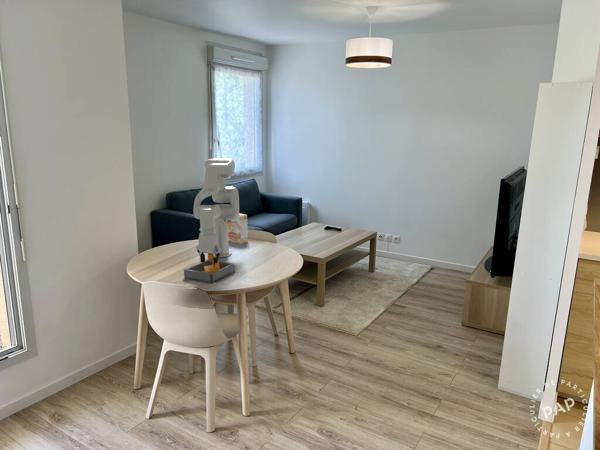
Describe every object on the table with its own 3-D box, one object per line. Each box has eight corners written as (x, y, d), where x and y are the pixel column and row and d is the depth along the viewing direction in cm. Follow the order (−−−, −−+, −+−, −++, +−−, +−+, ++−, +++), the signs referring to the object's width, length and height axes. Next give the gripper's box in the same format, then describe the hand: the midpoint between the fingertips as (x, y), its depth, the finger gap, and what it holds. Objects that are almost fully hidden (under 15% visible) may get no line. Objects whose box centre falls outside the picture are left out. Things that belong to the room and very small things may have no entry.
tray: (184, 278, 233) (183, 269, 232) (208, 267, 250) (207, 259, 249) (212, 283, 225) (211, 274, 224) (234, 272, 242) (234, 263, 241)
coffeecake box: (226, 240, 310) (225, 213, 306) (233, 238, 316) (232, 211, 311) (240, 244, 301) (239, 216, 297) (248, 242, 306) (247, 214, 302)
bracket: (204, 271, 242) (201, 250, 239) (217, 268, 244) (215, 248, 241) (206, 276, 232) (204, 255, 229) (220, 274, 234) (218, 252, 231)
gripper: (190, 231, 233) (191, 262, 237) (217, 234, 225) (218, 267, 229) (199, 228, 239) (200, 259, 243) (225, 231, 232) (227, 263, 236)
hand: (209, 262), depth 236 cm, fingers open, 8 cm apart
